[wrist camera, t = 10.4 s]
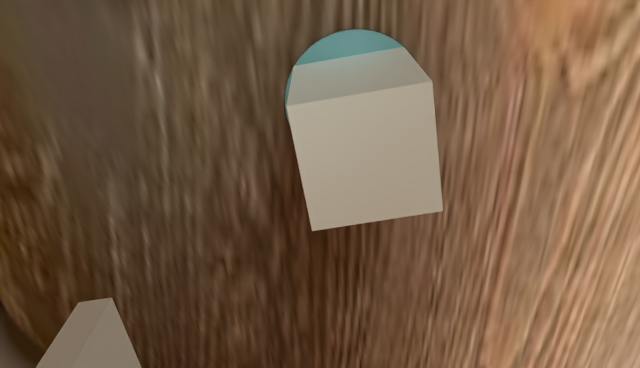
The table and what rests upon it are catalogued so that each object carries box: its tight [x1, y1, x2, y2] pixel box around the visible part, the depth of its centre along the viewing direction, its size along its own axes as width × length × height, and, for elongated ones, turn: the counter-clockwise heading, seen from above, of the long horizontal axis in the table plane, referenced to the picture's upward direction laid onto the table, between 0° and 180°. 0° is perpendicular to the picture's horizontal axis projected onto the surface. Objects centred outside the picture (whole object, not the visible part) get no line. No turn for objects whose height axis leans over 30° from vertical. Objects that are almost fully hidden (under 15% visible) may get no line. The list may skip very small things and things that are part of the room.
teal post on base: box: [285, 29, 414, 128], centre depth 23 cm, size 7×7×7 cm
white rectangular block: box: [286, 47, 443, 231], centre depth 22 cm, size 5×5×7 cm
